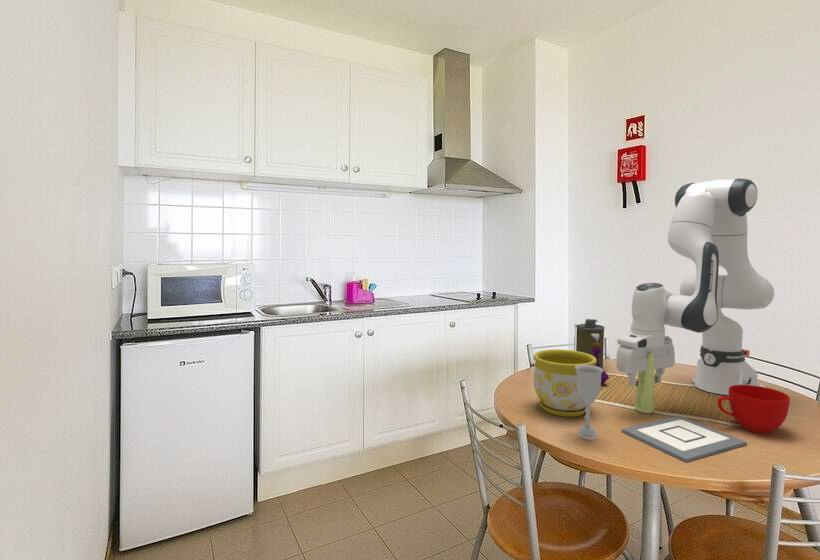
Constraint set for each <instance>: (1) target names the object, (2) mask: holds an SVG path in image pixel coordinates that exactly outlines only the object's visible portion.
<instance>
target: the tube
mask: <svg viewBox="0 0 820 560" xmlns="http://www.w3.org/2000/svg"><path fill="white" fill-rule="evenodd" d="M647 358H648V360H647V370H646V371H641V372H637V380H638V386H636V393H635V394H636V395H635V410H636V411H637V412H640V413H642V414H652V413H654V410H655V382H654V376H655V369H654V356H653V350H652V352H649V354H648V357H647Z"/></svg>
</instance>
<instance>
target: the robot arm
mask: <svg viewBox="0 0 820 560" xmlns="http://www.w3.org/2000/svg"><path fill="white" fill-rule="evenodd" d="M757 201H758V188H757V185H756V184H755V182H753V181H752V179H748V178H747V179H746V178H735V179H733V178H731V179H730V178H725V179H723V178H720V179H712V180H705V181H700V182H699V181H698V182H690V183H686V184H683V185H682V186H681V187H680V188H679V189H678V190H677V191H676V193H675V196H674V206H675V210H674V213H673V215H672V217H671V222H670V224H669V228H668V233H667V243H668V246H669V247H670V248H671V249H672V250H673V251H674V252H675V253H677V254H678V255H681V256H683V257H685V258H686V259H689V260H691V261H692V262H693V263H694V265H695V267H696V271H695V275H689V276H686V277H685V278H684V279H683V280H682V282H681V283H680V286H679V294H678V293H677V294H676V293H673V292H670V291H668V290H667V289H666V288H665V286H664V285H663V284H661V283H658V282H657V283H656V282H648V283H647V282H646V283H642V284H639V285H637V286H636V287H635V289H634V291H633V295H632V299H631V300H632V301H631V316H632V322H631V326H630V330H629V331H627V332H626V333H624V334H623V335H621V336H619V337H618V338H617V345H619V346H618V348H617V350H616V363H615V364H616V369H617V370H618V371H619V372H620V373H624V374H626V375H627V377H628V379H629V386H631V387H634V388H637V386H638V379H636V376H637V373H638V372H641V371H646V370H647V360H648V358H647V357H648V354H649V352H652V350H653V356H654V371H655V370H656V371H655V372H654V383H655V384H656V383H657V384H660V383H661V382H662V377H663V375H664V373H665V372H666V371H665V370H666V369H667V368H672V367H673V366H674V365H675V362H676V357H675V356H676V354H675V353H676V352H675V346H674V344H673V339H672V338H671V337H670V336H668V335H665V334H666V328H665V326H670V327H673V328H680V329H684V330H687V331H691V332H694V333H697V334H698V333H702V334H701V335H702V338H701V339H702V344H701V346H700V349H699V356H700V358H699V359H698V360H697V362H696V370H695V375H694V377H692V379H691V381H692V383H693V384H694V386H695V387H696V388H697V389H699V390H702V391H704V392H709V393H713V394H718V395H721V396H722V395H723V396H729V387H730V386H733V385H752V386H760V387H765V388H767V386H766V385H764V384H761V383H759V382H758V371H756V369H754V368H753V367H752V366H751V365H750V364H749V363H748V362H747V361H746V358H745V356H746V357H750V353H751V351H750V349H744V348H743V335H744V334H743V333H744V330H743V327H742V326H741V324H740V323H739V322H737V321H736V320H734V319H732V318H730V317H728V316H727V315H725V314H724V313H723V311H722V309H735V310H758V309H765V308H767V307H768V306H769V305H770V304H771V303H772V302H773V300H774V297H775V290H774V287H773V284H772V283H771V282H770V281H769V280H768V279H767V278H766V277H763V276H762V275H760V273H758V271H756V270H755V268H754V267H753V266H752V264H751V262H750V258H749V254H748V253H749V252H748V229H749V228H748V217H747V213H750V211H751V210H752V209H753V208H754V207H755V205H756V203H757ZM719 267H722V268H723V269H724V270H725V271H726V275H725V274H724V275H722V274H721V275H720V274H719Z"/></svg>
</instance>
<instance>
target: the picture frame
mask: <svg viewBox="0 0 820 560" xmlns="http://www.w3.org/2000/svg"><path fill="white" fill-rule="evenodd" d="M621 432H622V433H624V434H625V435H628V436H629V437H632V438H634V439H636V440H637V441H640V442H643V443H645V444H647V445H648V446H651V447H653V448H655V449H657V450H659V451H662V452H663V453H666V454H667V455H670V456H672V457H674V458H676V459H678V460H680V461H682V462H684V463H688V462H692V461H696V460H698V459H701V458H705V457H710V456H712V455H715V454H716V453H717V454H719V452H720V453H723V452H722V451H724V452H727V451H730V449H731V450H733V448H734V449H737V447H738V448H741V447H744V446H747V445H748V441H747V440H743V439H741V438H738V437H735V436H733V435H730V434H728V433H726V432H722V431H720V430H717V429H714V428H711V427H709V426H707V425H705V424H702V423H699V422H696V421H693V420H691V419H688V418H685V417H684V416H680V415H677V416H674V417H673V416H672V417H668V418H664V419H659V420H655V421H651V422H650V421H649V422H646V423H643V424H642V423H641V424H638V425H633V426H629V427H625V428H623V427H622V428H621ZM740 446H741V447H740ZM726 450H727V451H726ZM709 455H710V456H709Z"/></svg>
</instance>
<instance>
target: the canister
mask: <svg viewBox="0 0 820 560" xmlns="http://www.w3.org/2000/svg"><path fill="white" fill-rule="evenodd" d="M598 322H599V321H598V320H597V319H595V318H593V319H591V318H585V322H584V323H579V324H574V328H576V336H575V338H574V342H573V343H574V346H573V349H574V350H573V351H579V352H583V353H587V354H590V355H592V356H593V351H592V350H591V347H593V343H599V344H601V348H603V351H601V352H600V353H599V357H598V360H599V364H600V365H601V367H602V368H603V369H604V351H605V348H604V347H605V345H604V344H605V328H606V327H605V326H604V325H600V324H596V323H598ZM591 334H599V339H598V340H596V339H595V338H592V337H591Z"/></svg>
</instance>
